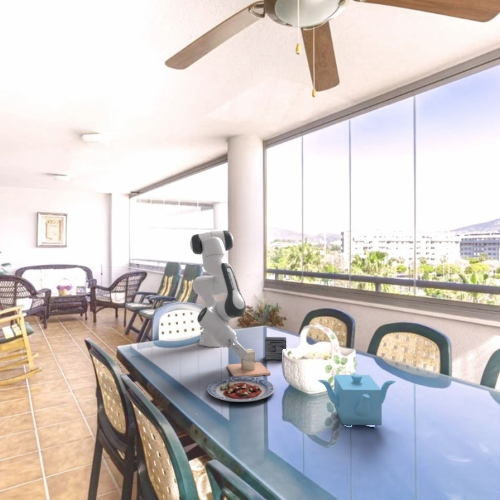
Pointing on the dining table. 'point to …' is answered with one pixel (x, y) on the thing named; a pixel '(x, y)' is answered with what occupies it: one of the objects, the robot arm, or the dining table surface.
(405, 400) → the dining table surface
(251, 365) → the ash block
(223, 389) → the ceramic plate
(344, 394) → the teakettle
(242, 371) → the terracotta tile
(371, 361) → the dining table surface
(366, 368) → the dining table surface
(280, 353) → the small box
